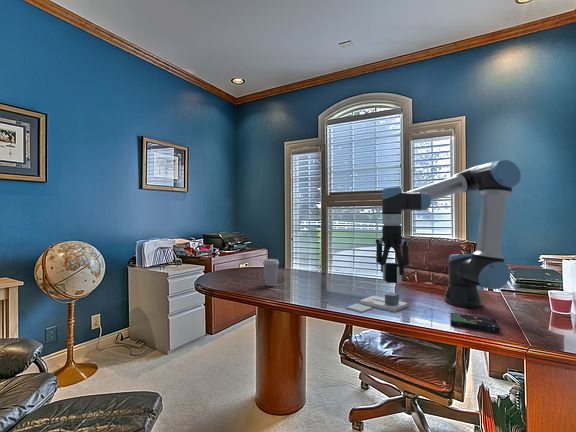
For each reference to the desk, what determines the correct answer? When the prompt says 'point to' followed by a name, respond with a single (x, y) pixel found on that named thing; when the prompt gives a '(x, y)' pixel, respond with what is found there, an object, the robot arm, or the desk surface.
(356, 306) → the mat
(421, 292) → the desk surface
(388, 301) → the switch tab
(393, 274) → the ink cartridge
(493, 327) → the disk drive
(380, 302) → the switch panel
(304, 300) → the desk surface
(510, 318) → the desk surface
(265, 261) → the coffee cup
